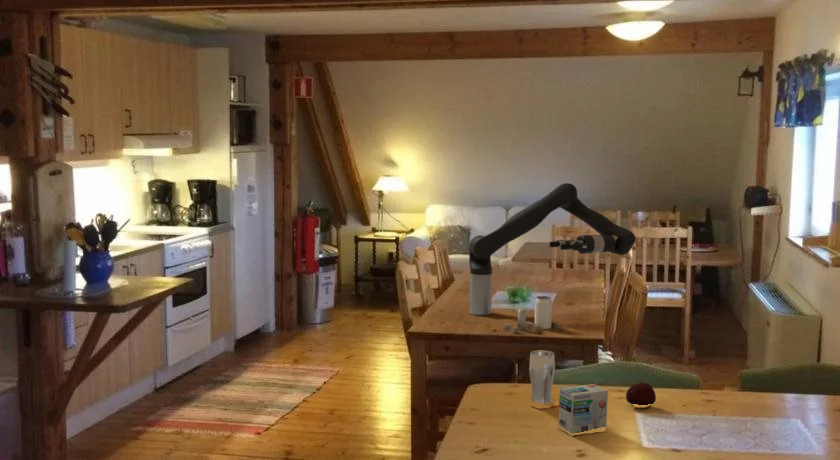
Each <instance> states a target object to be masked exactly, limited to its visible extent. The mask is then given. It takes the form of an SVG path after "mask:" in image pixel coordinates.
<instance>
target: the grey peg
mask: <svg viewBox="0 0 840 460" xmlns="http://www.w3.org/2000/svg"><path fill="white" fill-rule="evenodd" d="M526 322H527V309H526V308H518V309H517V327H518V328H519V331H525V330H526Z"/></svg>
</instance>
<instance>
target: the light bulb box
mask: <svg viewBox="0 0 840 460" xmlns="http://www.w3.org/2000/svg"><path fill="white" fill-rule="evenodd" d="M608 392H609V391H608V390H606V389H605V388H602V387H600V386H598V385H596V384H594V383H592V384H584V385H577V386H576V385H575V386H569V387H559V402H558V404H559V406H558V407H559V408H558V426H559V425H560V426H561V427H563V428H564V429H565V430H567V431H569V432H570V433H572V434H574V433H580V432H584V431H588V430H592V429H597V428H601V427H606V428H607V421H608V420H607V419H608V418H607V417H608V395H609V393H608Z"/></svg>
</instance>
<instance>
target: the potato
mask: <svg viewBox="0 0 840 460" xmlns="http://www.w3.org/2000/svg"><path fill="white" fill-rule="evenodd" d="M656 395H657V394H656V392H655V390H654V388H653V387H652V385H650V384H649V383H647V382H638V383H635V384H633V385H631V386H630V387H629V388H628V389H627V391H626V393H625V398H626V402H627V403H628V402H629V403H631V404H638V405H648V404H653V403H654V402H655V403H656V399H657V396H656ZM629 403H628V404H629ZM655 403H654V404H655ZM654 404H653V405H654Z"/></svg>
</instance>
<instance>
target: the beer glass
mask: <svg viewBox="0 0 840 460" xmlns="http://www.w3.org/2000/svg"><path fill="white" fill-rule="evenodd" d="M529 355H530V356H529V366H528V367H529V368H528V369H529V380H530V386H531V399H530V401H531V400H532V401H533V402H535V403H542V404H548V403H551V402H552V389H553V384H554V378H555V370H556V361H555V352H553V351H550V350H544V349H543V350H542V349H538V350H532V351H530V354H529ZM552 403H553V402H552Z"/></svg>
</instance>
